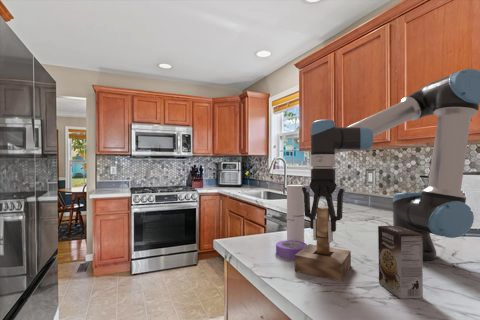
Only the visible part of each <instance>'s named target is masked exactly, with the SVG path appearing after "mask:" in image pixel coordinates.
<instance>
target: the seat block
mask: <svg viewBox="0 0 480 320" xmlns="http://www.w3.org/2000/svg"><path fill="white" fill-rule="evenodd" d="M351 254H352V253H351V250H347V249H342V248H337V247H336V248H335V247H330V253H328V254H322V253H318V252H317V244H310V243H309V244H308V243H307V246H306V247H305V248H303V249H302V250H301V251H299V252H298V253H297V254H295V259H294V271H295V272H298V273H302V274H306V275H311V276H316V277H320V278H323V279H329V280H333V281H338V282H341V283H342V282H343V281H344V279H345V277H346V275H347V273H348V272H349V270H350V268H351V266H352V261H351V259H352V256H351Z"/></svg>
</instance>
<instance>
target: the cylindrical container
mask: <svg viewBox="0 0 480 320" xmlns="http://www.w3.org/2000/svg"><path fill="white" fill-rule="evenodd" d="M302 187H305V185H303V184H302V185H301V184H287V185H286V240H293V241H300V242H304V243H305V212H304V193H303V191H302Z"/></svg>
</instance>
